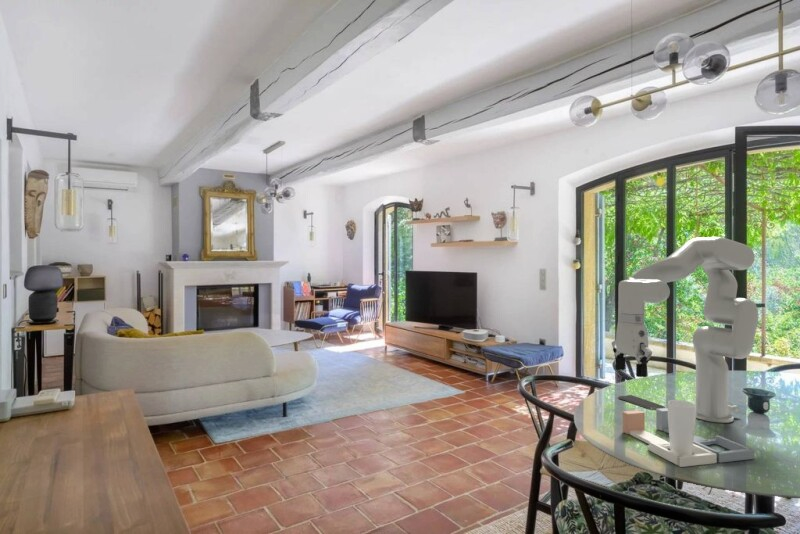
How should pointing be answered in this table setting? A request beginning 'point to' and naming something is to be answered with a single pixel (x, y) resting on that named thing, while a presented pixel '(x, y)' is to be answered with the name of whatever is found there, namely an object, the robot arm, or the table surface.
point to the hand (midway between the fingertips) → (630, 372)
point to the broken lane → (710, 441)
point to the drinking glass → (681, 426)
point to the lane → (663, 442)
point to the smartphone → (641, 402)
